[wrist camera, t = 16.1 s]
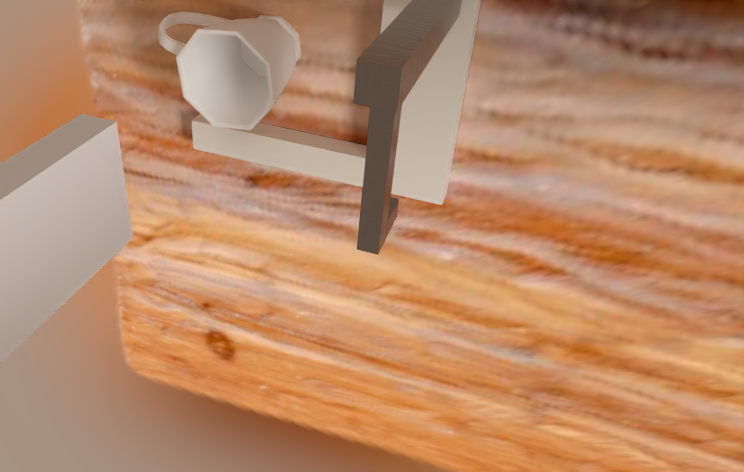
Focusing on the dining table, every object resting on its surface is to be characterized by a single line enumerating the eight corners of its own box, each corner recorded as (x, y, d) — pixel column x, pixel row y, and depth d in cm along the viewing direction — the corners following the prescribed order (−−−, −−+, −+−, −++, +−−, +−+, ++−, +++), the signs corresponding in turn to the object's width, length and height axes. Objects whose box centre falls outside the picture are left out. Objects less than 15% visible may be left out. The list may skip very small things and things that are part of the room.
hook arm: (433, -23, 41) (357, 59, 28) (464, -18, 41) (402, 68, 28) (411, 136, 48) (340, 263, 35) (438, 142, 47) (377, 272, 34)
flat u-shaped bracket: (186, -171, 43) (170, -170, 41) (504, -129, 39) (500, -126, 37) (205, 138, 55) (193, 148, 54) (446, 192, 52) (441, 205, 50)
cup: (303, 104, 51) (260, 150, 44) (186, 47, 51) (126, 84, 45) (331, 20, 47) (288, 57, 40) (204, -42, 47) (141, -15, 40)
